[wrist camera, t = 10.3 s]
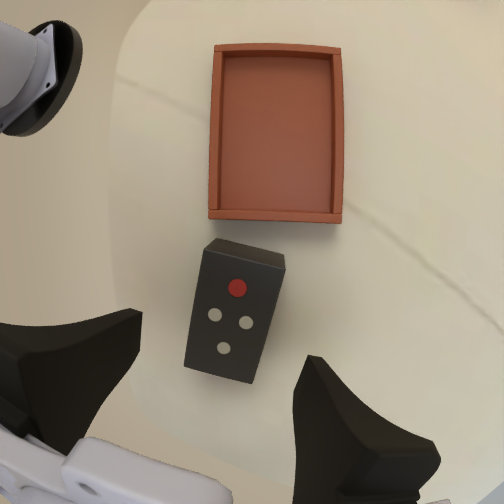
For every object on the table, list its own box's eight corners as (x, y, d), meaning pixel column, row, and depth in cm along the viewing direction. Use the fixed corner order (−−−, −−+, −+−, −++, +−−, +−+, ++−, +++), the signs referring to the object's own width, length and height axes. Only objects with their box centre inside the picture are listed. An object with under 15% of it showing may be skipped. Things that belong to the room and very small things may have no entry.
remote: (255, 357, 19) (252, 385, 16) (195, 341, 19) (182, 367, 16) (284, 254, 17) (286, 268, 14) (215, 237, 17) (203, 248, 14)
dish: (337, 221, 16) (341, 223, 15) (212, 217, 17) (208, 219, 16) (337, 55, 14) (340, 47, 13) (218, 52, 15) (214, 44, 14)
